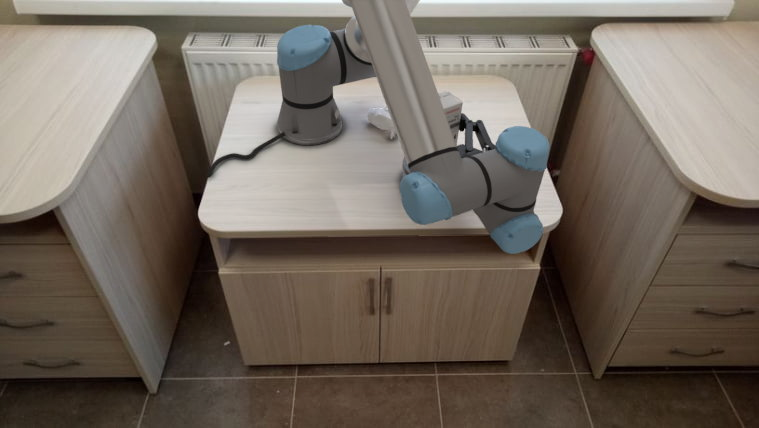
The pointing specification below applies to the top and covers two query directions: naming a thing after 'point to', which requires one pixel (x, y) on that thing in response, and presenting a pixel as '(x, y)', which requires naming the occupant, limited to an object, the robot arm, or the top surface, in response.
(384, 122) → the crumpled white bag
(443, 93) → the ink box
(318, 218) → the top surface
